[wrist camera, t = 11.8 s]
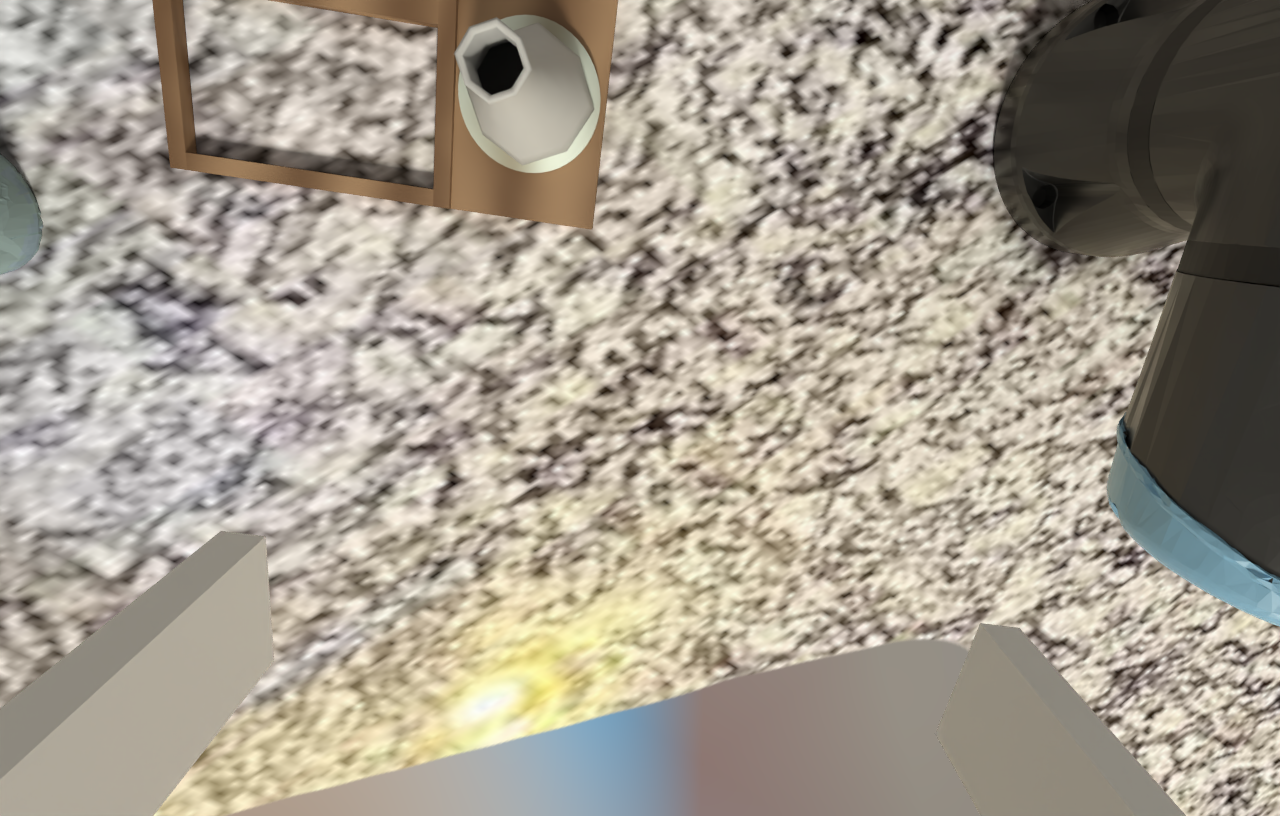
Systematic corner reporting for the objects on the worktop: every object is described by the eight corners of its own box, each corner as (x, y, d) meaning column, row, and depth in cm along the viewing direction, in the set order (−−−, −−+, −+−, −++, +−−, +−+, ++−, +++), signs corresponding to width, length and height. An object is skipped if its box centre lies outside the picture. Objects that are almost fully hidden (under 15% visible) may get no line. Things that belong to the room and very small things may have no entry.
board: (618, -2, 35) (617, -8, 34) (592, 228, 39) (591, 229, 38) (156, -80, 34) (141, -89, 33) (181, 168, 38) (169, 167, 37)
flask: (541, -3, 34) (505, -79, 24) (615, 114, 36) (608, 85, 26) (444, 79, 35) (373, 36, 26) (520, 187, 37) (481, 184, 28)
